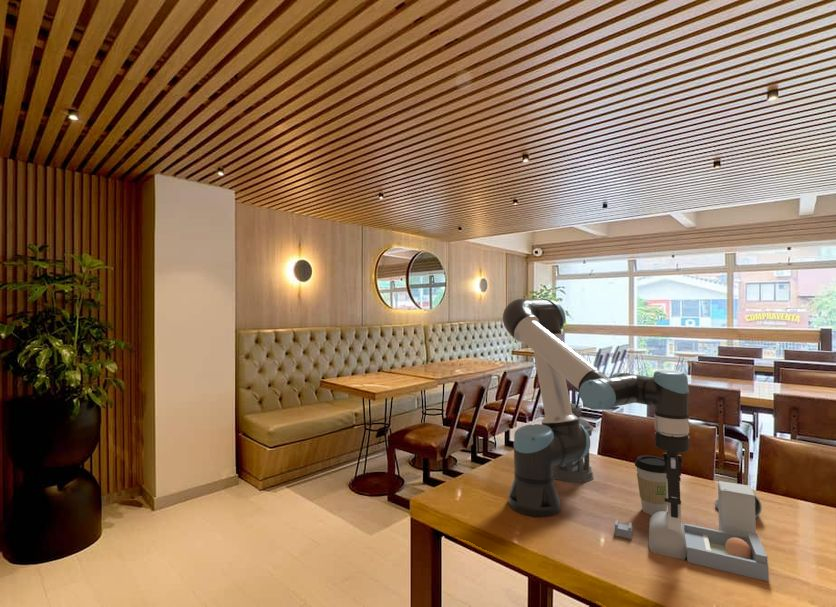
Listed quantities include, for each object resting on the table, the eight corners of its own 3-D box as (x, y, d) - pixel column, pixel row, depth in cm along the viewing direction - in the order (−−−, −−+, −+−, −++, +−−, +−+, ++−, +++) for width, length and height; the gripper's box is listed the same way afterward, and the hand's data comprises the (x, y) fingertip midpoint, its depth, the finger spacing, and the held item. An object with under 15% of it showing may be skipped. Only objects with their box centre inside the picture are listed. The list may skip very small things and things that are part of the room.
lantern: (536, 473, 154) (535, 377, 154) (559, 462, 165) (558, 372, 166) (581, 487, 141) (579, 383, 142) (602, 473, 153) (600, 377, 153)
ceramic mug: (756, 509, 125) (755, 483, 125) (762, 521, 118) (761, 494, 118) (713, 502, 130) (712, 477, 130) (716, 513, 123) (715, 487, 123)
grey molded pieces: (613, 551, 107) (612, 520, 107) (617, 529, 118) (616, 500, 118) (768, 591, 92) (768, 554, 92) (757, 560, 103) (756, 527, 103)
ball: (733, 568, 98) (722, 546, 99) (730, 556, 102) (719, 535, 103) (758, 564, 95) (746, 542, 96) (753, 552, 100) (742, 531, 101)
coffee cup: (679, 520, 118) (678, 467, 119) (641, 517, 120) (640, 465, 121) (666, 505, 128) (665, 455, 128) (631, 502, 130) (630, 453, 130)
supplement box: (756, 546, 105) (755, 495, 106) (720, 538, 109) (719, 489, 110) (752, 533, 112) (751, 485, 112) (718, 525, 116) (717, 479, 116)
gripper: (693, 449, 94) (695, 545, 93) (686, 422, 115) (688, 500, 115) (654, 444, 97) (656, 536, 97) (655, 419, 119) (656, 494, 119)
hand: (673, 517), depth 106 cm, fingers open, 13 cm apart
